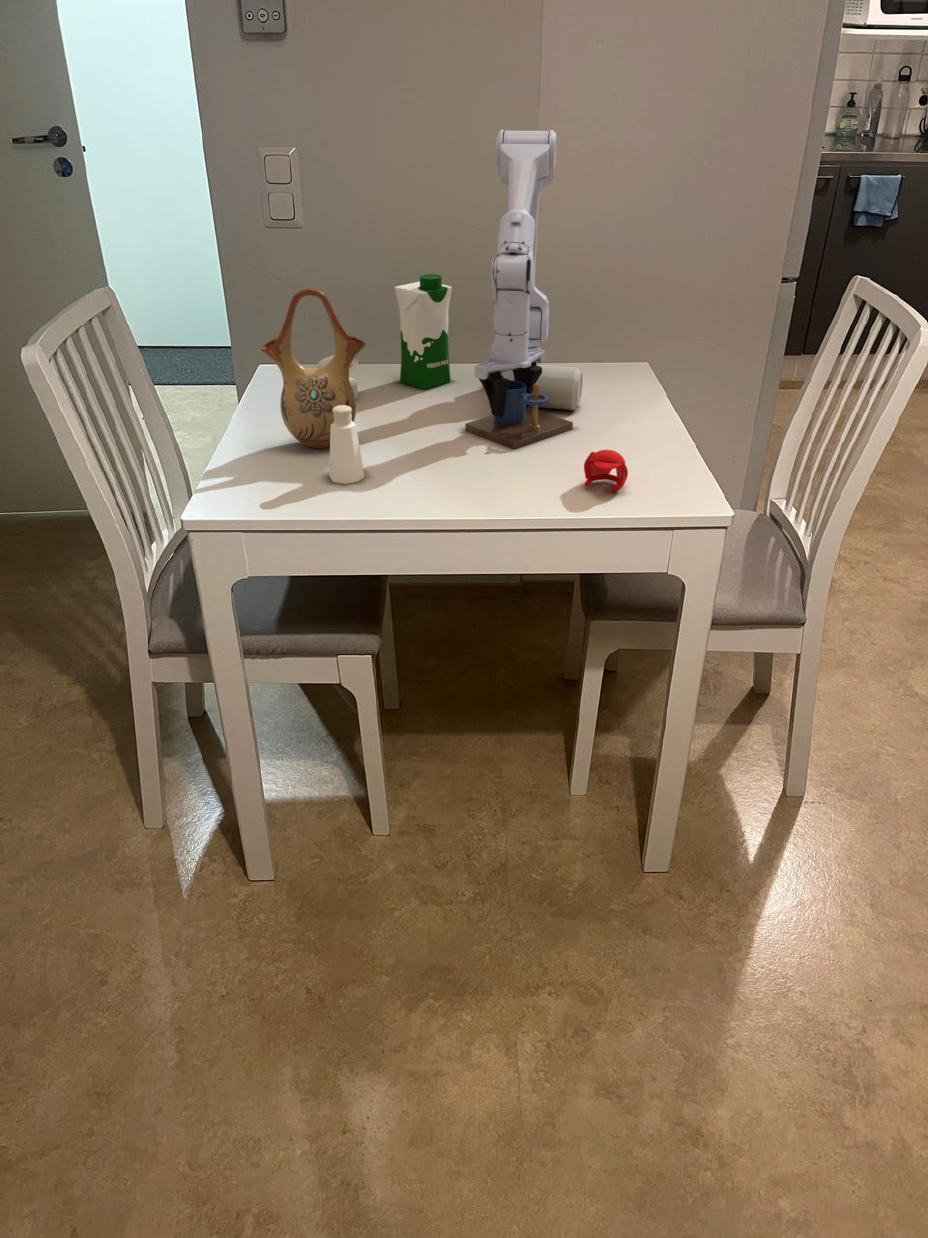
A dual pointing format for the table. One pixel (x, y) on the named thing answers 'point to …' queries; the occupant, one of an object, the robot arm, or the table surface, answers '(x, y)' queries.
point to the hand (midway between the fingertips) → (509, 411)
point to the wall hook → (351, 380)
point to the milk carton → (424, 332)
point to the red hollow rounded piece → (605, 468)
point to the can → (560, 387)
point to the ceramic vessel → (313, 379)
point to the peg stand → (521, 427)
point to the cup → (517, 403)
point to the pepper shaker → (344, 448)
